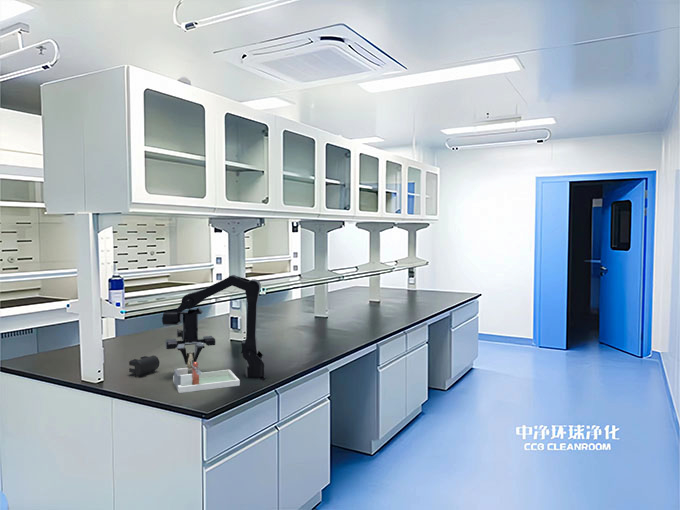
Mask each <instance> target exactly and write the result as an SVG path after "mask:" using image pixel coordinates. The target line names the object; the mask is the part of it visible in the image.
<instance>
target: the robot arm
mask: <svg viewBox="0 0 680 510" xmlns="http://www.w3.org/2000/svg"><path fill="white" fill-rule="evenodd" d="M230 287H236V288H237V289H240V290H243V291H244V292H245V298H246V301H247V305H246V306H247V309H246V311H247V313H246V335H245V336H246V337H245V339H243V340H242V342H241V345H240V346H241V351H240V354H242V358H243V359H244V360H245V361H247V362H246V366H245V377H246V378H248V379H249V378H250V379H251V378H253V379H257V378H258V379H260V380H266V376H265V362H264V354H263V353H262V352H261V351H260V350H259V345H258V344H259V343H258V340H257V339H258V338H257V322H258V321H257V318H258V301H259V297H260V292H261V288H262V284H261V282H260V281H259V280H258V279H255V278H254V279H253V278H252V279H249V278H245V277H241V276H237V275H236V274H231V275H229V276H228V277H225V278H224V279H221V280H220V281H218V282H216V283H214V284H212V285H209V286H208V287H205V288H203V289H199V290H196V291H193V292H189V293H187V294H185V295H184V296H182V298H181V303H180V304H179V306H178V307H176V308H177V310H173V311H166V312H164V311H163V314H162V318H161V320H162V321H161V322H162V325H163V326H179V325H180V323H182V328H177V329H176V338H181V340H177V339H176V338H171V339H170V338H169V339H167V338H166V340H165V341H164V347H165V349H166V350H173V349H176V350H177V351H180V353H181V356H182V358H183V361H184V364H185V365H186V364H187V349H186V347H185V346H188V345H189V346H191V345H194V362H197V361H198V358H199V355H200V353H201V352H202V349H205V345H206V346H208V347H209V346H210V347H211V346H216V339H215V337H214V336H212V335H207V336H206V335H205V336H202V338H199V329H198V328H199V315H203V313H204V311H203V310H202V309H201V308H200V307H197V308H196V309H194V308H195V307H196V306H197V305H199V304H200V303H202V302H203V301H204V300H206V299H207V298H209V297H211V296H213V295H215V294H218V293H220V292H222V291H225V290H226V289H228V288H230ZM185 310H187V311H185Z"/></svg>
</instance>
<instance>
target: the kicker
mask: <svg viewBox="0 0 680 510" xmlns="http://www.w3.org/2000/svg"><path fill="white" fill-rule="evenodd" d="M194 354H195V351H186V356H187V364H185V365H186V367H185V368H188V370H191V374H192V378H193V385H197V384H199V375H201V373H202V370H201V369H200V368H199V362H197V361H196V362H194Z"/></svg>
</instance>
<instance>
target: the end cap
mask: <svg viewBox="0 0 680 510" xmlns="http://www.w3.org/2000/svg"><path fill="white" fill-rule="evenodd" d="M128 365H129V366H130V367H129V369H128V372H129V376H130V377H136V378H139V377H141V376H144V375H148V374H150V373H153V372H155V371H156V370H158V369H159V367H160V360H159V358H158V356H157V355H151V356H150V355H149V356H147V355H146V356H145V355H144V356H141V357H140V358H139V359H137V358H134V359H131V360H129V361H128ZM131 366H133V367H134V368H131Z"/></svg>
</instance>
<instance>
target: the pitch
mask: <svg viewBox="0 0 680 510" xmlns="http://www.w3.org/2000/svg"><path fill="white" fill-rule="evenodd" d="M172 382H173V385H174V386H175V388H176V391H177V392H178V394H182V393H183V394H185V393H193V392H198V391H206V390H207V391H208V390H214V389H215V390H217V389H222V388H230V387H239V386H240V385H241V384H240V383H241V380H240V379H239V378H238V376H236V374H235V373H234V372H233V371H232V370H231V369H230V368H229V369H222V370H212V371H204V372H202V371H201V375H199V384H197V385H192V373H189V369H188V368H186V367H183V368H182V367H180V368H174V369H173V375H172Z"/></svg>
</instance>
